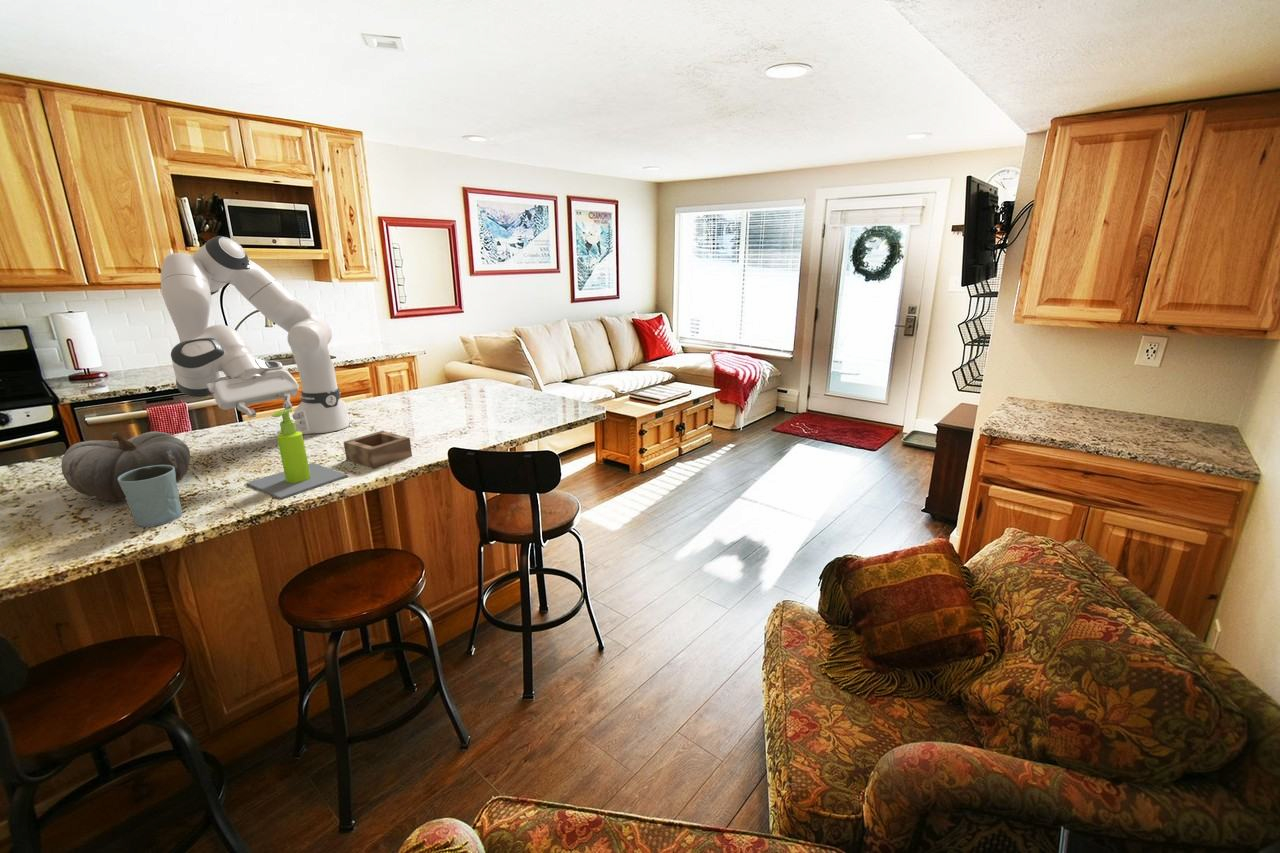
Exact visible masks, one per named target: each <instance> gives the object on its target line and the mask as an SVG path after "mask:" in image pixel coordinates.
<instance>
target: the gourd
mask: <svg viewBox="0 0 1280 853" xmlns="http://www.w3.org/2000/svg"><path fill="white" fill-rule="evenodd" d="M111 437H112V438H113V439H114V440H116V441H114V440H105V439H104V440H94V439H93V440H86V441H80V442H76V443H73V444H72V445H71V446H69V447H68V449H67V450H66V452H65V453H64V454H63V456H62V458H61V465H60V466H61V473H62V475H63V477H64V479H65V481H66V482H67V484H68V485H69V487H71V488H72V489H74V490H75V491H76V492H77V493H78V494H82V495H85V496H87V497H91V498H96V499H99V500H105V501H111V502H117V501H122V500H127V499H126V496H125V495H124V492H123V490H122V489H121V486H120V484H119V482H118V477H119V476H120V475H122V474H124V473H126V472H128V471H131V470H134V469H138V468H142V467H147V466H154V465H171V466H173V467H174V468H175V475H176V483H177V484H178V483H179V482H180V481H181V480H183V478H184V477H185V475H186V474H187V473H188V471H189V468H190V465H191V464H190V462H191V461H190V460H191V451H190V448H189V447H188V445H187V443H185V442H184V441H183V440H181V439H179V438H177V437H176V436H173V435H172V434H170V433H167V432H163V431H148V432H144V433H141V434H139V435H135V436H132V437H131V438H129V439H126V438H124V437H123V436H121V435H119V433H118V432H113V433H111Z"/></svg>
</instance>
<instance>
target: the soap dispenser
mask: <svg viewBox="0 0 1280 853" xmlns="http://www.w3.org/2000/svg"><path fill="white" fill-rule="evenodd" d="M291 412H292V408H291V409H285V408H284V409H280V410H278V411H277V410H276V412H274V413H273V414H272V415H271V417H273V418H280V417H282V420H281V421H280V422H279V426H280V431H281V433H279V434H278V435H276V439H277V443H278V444H277V445H278V449H279V454H280V458H281V463H282V469H283V472H284V473H285V478H286V482H288V483H298V482H302V481H306V480H308V479H309V478H310V477H311V476H310V471H309V466H308V464H309V461H308V456H307V451H306V447H305V441H304V436H303V435H304V434H302V432H300V431H296V427H295V422H294V421H295V420H294V419H293V420H292V419H291V417H290V413H291Z"/></svg>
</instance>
